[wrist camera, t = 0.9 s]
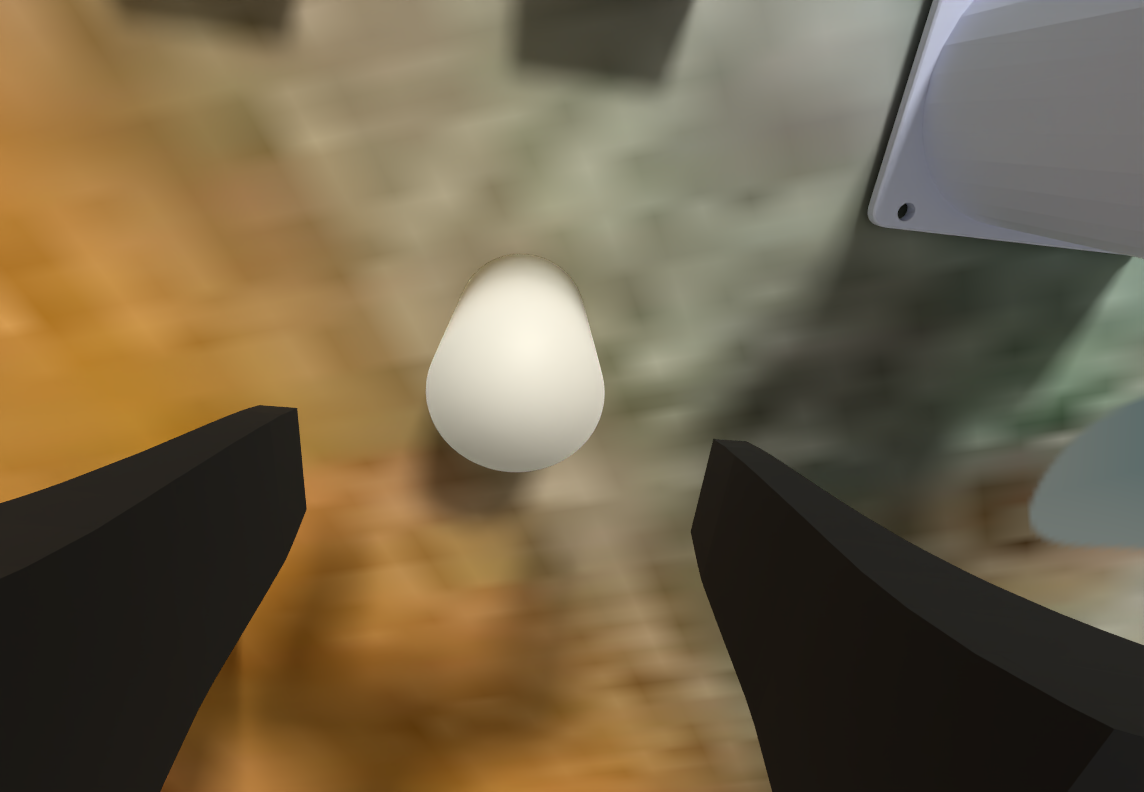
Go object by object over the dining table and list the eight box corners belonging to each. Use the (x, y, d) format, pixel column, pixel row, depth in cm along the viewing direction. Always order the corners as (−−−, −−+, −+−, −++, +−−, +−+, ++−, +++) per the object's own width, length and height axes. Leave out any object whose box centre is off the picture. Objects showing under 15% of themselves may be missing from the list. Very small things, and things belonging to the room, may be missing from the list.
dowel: (592, 260, 18) (616, 319, 12) (577, 379, 20) (592, 477, 14) (460, 247, 17) (427, 302, 12) (456, 369, 19) (425, 466, 14)
